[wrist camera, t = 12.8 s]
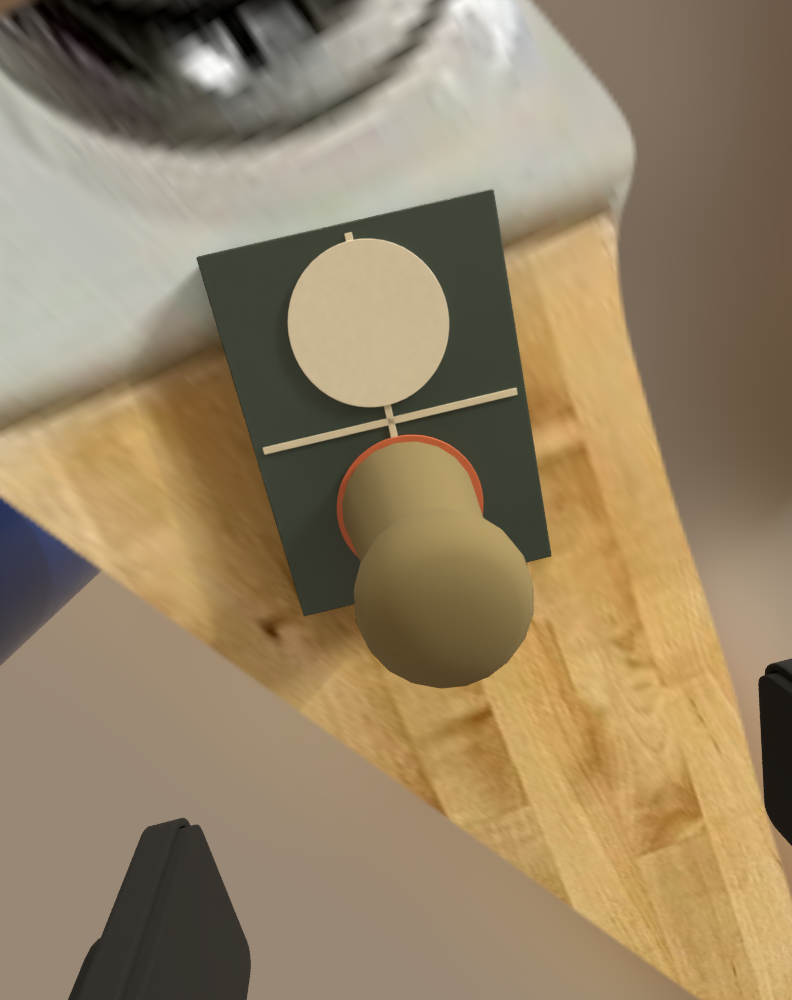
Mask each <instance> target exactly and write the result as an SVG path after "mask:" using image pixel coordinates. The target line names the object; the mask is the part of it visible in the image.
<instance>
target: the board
mask: <svg viewBox="0 0 792 1000" xmlns="http://www.w3.org/2000/svg"><path fill="white" fill-rule="evenodd" d="M197 261H198V265H199V268H200V271H201V275H202V278H203V281H204V285H205V288H206V291H207V295H208V298H209V301H210V305H211V308H212V311H213V315H214V318H215V321H216V325H217V328H218V331H219V335H220V338H221V341H222V345H223V348H224V351H225V355H226V358H227V361H228V365H229V368H230V371H231V375H232V378H233V381H234V385H235V388H236V391H237V395H238V398H239V401H240V405H241V408H242V411H243V415H244V418H245V421H246V425H247V428H248V431H249V435H250V438H251V441H252V445H253V448H254V451H255V455H256V458H257V461H258V465H259V468H260V471H261V475H262V478H263V481H264V485H265V488H266V491H267V495H268V498H269V501H270V504H271V508H272V511H273V514H274V518H275V521H276V524H277V528H278V531H279V534H280V538H281V541H282V544H283V548H284V551H285V554H286V558H287V561H288V564H289V568H290V571H291V574H292V578H293V581H294V584H295V588H296V591H297V594H298V598H299V601H300V604H301V608H302V611H303V614H304V616H307V615H312V614H316V613H320V612H324V611H328V610H332V609H336V608H340V607H345V606H349V605H353V604H355V602H354V586H355V582H356V578H357V575H358V571H359V567H360V563H361V562H360V560H359V558H358V555H357V553H356V551H355V548H354V546H353V544H352V541H351V539H350V537H349V535H348V532H347V530H346V528H345V525H344V520H343V509H342V501H343V497H344V493H345V489H346V485H347V482H348V481H349V479H350V477H351V476H352V474H353V473H354V471H355V469H356V468H357V466H358V465H359V464H360V463H361V462H363V461H364V460H365V459H366V458H367V457H369V456H370V455H371V454H372V453H373V452H375V451H377V450H379V449H382V448H384V447H387V446H389V445H391V444H394V443H402V442H415V441H417V442H421V443H425V444H430V445H434V446H438V447H439V448H441V449H442V450H444V451H446V452H447V453H449V454H450V455H452V456H454V457H455V458H456V459H457V460H458V461H459V463H460V464H461V465H462V466H463V468H464V469H465V470H466V471H467V472H468V474H469V477H470V479H471V482H472V485H473V488H474V490H475V493H476V496H477V499H478V503H479V506H480V509H481V512H482V515H483V518H484V519H486V520H487V521H489V522H491V523H492V524H494V525H495V526H497V527H499V528H500V529H502V530H503V532H504V533H505V534H506V535H507V536H508V537H509V539H510V540H511V541H512V542H513V544H514V545H515V546H516V547H517V548H518V550H519V551H520V552H521V553H522V555H523V556H524V559H525V561H526V562H530V561H534V560H538V559H542V558H546V557H550V556H551V550H550V543H549V537H548V531H547V524H546V518H545V512H544V505H543V499H542V493H541V486H540V480H539V474H538V467H537V461H536V455H535V448H534V442H533V436H532V429H531V423H530V417H529V410H528V404H527V398H526V391H525V385H524V379H523V372H522V366H521V360H520V353H519V347H518V341H517V334H516V328H515V322H514V315H513V309H512V303H511V296H510V290H509V284H508V277H507V271H506V265H505V258H504V252H503V246H502V239H501V233H500V227H499V220H498V214H497V208H496V201H495V195H494V190H493V189H489V190H485V191H481V192H476V193H472V194H468V195H463V196H459V197H455V198H450V199H446V200H442V201H437V202H433V203H429V204H424V205H420V206H416V207H411V208H407V209H402V210H398V211H394V212H389V213H385V214H381V215H376V216H372V217H368V218H363V219H359V220H355V221H350V222H346V223H342V224H337V225H333V226H329V227H324V228H320V229H316V230H311V231H307V232H303V233H298V234H294V235H290V236H285V237H281V238H277V239H272V240H268V241H264V242H259V243H255V244H251V245H246V246H242V247H238V248H233V249H229V250H225V251H220V252H216V253H212V254H207V255H203V256H199V257H197Z"/></svg>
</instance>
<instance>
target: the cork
mask: <svg viewBox="0 0 792 1000" xmlns="http://www.w3.org/2000/svg"><path fill="white" fill-rule="evenodd" d="M342 509H343V520H344V525H345V528H346V530H347V532H348V535H349V537H350V539H351V541H352V544H353V546H354V548H355V551H356V553H357V555H358V558H359V560H360V562H361V563H360V567H359V571H358V575H357V578H356V582H355V586H354V602H355V613H356V623H357V625H358V627H359V629H360V631H361V633H362V636H363V638H364V640H365V642H366V644H367V646H368V648H369V649H370V651H371V653H372V654H373V655H374V656H375V657H376V658H377V659H378V660H379V661H380V662H381V663H382V664H383V665H384V666H385V667H386V668H387V669H388V670H389V671H390V672H392V673H394V674H396V675H398V676H400V677H402V678H404V679H406V680H408V681H409V682H411V683H415V684H420V685H425V686H431V687H436V688H450V687H460V686H466V685H469V684H472V683H474V682H477V681H479V680H482V679H484V678H487V677H489V676H490V675H491V674H493V673H494V672H495V671H497V670H498V669H499V668H501V667H502V666H503V665H505V664H506V663H507V662H508V661H509V659H510V658H511V657H512V655H513V654H514V653H515V651H516V650H517V649H518V647H519V646H520V645H521V643H522V642H523V640H524V639H525V637H526V634H527V631H528V628H529V625H530V623H531V620H532V617H533V602H534V589H533V583H532V578H531V576H530V573H529V570H528V567H527V564H526V561H525V559H524V556H523V555H522V553H521V552H520V551H519V550H518V548H517V547H516V546H515V545H514V544H513V542H512V541H511V540H510V539H509V537H508V536H507V535H506V534H505V533H504V532H503V530H502V529H500V528H499V527H497V526H495V525H494V524H492V523H491V522H489V521H487V520H486V519H484V518H483V515H482V512H481V509H480V506H479V503H478V499H477V496H476V493H475V490H474V488H473V485H472V482H471V479H470V477H469V474H468V472H467V471H466V470H465V469H464V468H463V466H462V465H461V464H460V463H459V461H458V460H457V459H456V458H455V457H454V456H452V455H450V454H449V453H447V452H446V451H444V450H442V449H441V448H439V447H438V446H434V445H430V444H425V443H421V442H417V441H415V442H402V443H394V444H391V445H389V446H387V447H384V448H382V449H379V450H377V451H375V452H373V453H372V454H371V455H370V456H369V457H367V458H366V459H365V460H364V461H363V462H361V463H360V464H359V465H358V466H357V468H356V469H355V471H354V473H353V474H352V476H351V477H350V479H349V481H348V482H347V485H346V489H345V493H344V497H343V501H342Z"/></svg>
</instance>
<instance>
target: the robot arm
mask: <svg viewBox="0 0 792 1000" xmlns="http://www.w3.org/2000/svg"><path fill="white" fill-rule="evenodd" d="M758 686H759V706H760V724H761V744H762V765H763V785H764V803H765V808H766V811H767V814H768V816H769V818H770V820H771V822H772V823H773V825H774V826H775V828H776V829H777V830H778V831H779V832H780V833H781V835H782V836H783V837H784V838H785V839H786V840H787V841H788V842H789V843H790V844H791V846H792V659H788V660H784V661H780V662H777V663H773V664H770V665H768V666H767V668H766V669H765V676H762V677H760V679H759V684H758ZM250 969H251V960H250V951H249V946H248V943H247V940H246V938H245V935H244V933H243V930H242V928H241V925H240V923H239V920H238V918H237V916H236V913H235V911H234V908H233V906H232V903H231V901H230V898H229V896H228V893H227V891H226V888H225V886H224V883H223V881H222V878H221V876H220V873H219V871H218V868H217V866H216V863H215V861H214V858H213V856H212V853H211V851H210V849H209V846H208V843H207V841H206V839H205V836H204V834H203V831H202V829H201V827H200V826H199V825H193V826H191V825H190V824H189V822H188V821H187V820H186V819H185V818H180V819H176V820H172V821H169V822H165V823H161V824H157V825H153V826H149V827H147V828H146V829H145V830H144V832H143V834H142V835H141V838H140V840H139V843H138V845H137V848H136V850H135V853H134V856H133V858H132V861H131V863H130V865H129V868H128V871H127V873H126V876H125V878H124V881H123V883H122V886H121V889H120V891H119V893H118V896H117V899H116V901H115V903H114V906H113V908H112V911H111V913H110V916H109V918H108V921H107V924H106V926H105V929H104V931H103V934H102V936H101V938H100V939H98V940H97V941H96V942H95V943H94V944H93V945H92V947H91V948H90V950H89V952H88V954H87V956H86V958H85V960H84V962H83V965H82V967H81V970H80V972H79V975H78V977H77V979H76V982H75V984H74V987H73V989H72V992H71V994H70V996H69V999H68V1000H247V993H248V986H249V978H250Z"/></svg>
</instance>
